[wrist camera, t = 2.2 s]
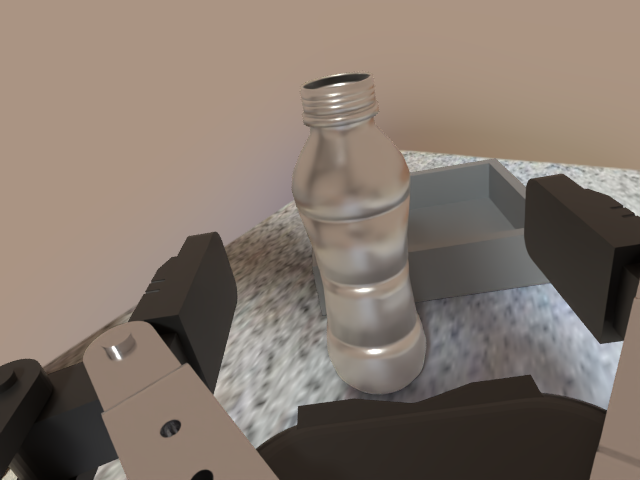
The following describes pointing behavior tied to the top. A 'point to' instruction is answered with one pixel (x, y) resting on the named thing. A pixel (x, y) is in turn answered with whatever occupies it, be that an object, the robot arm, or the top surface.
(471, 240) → the bin
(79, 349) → the top surface
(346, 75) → the silver bottle
